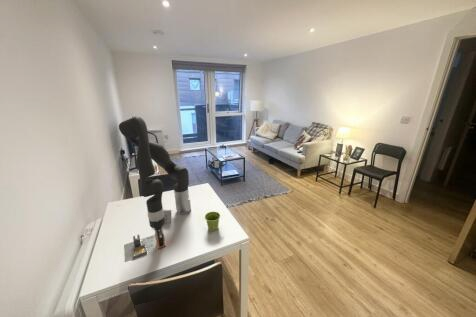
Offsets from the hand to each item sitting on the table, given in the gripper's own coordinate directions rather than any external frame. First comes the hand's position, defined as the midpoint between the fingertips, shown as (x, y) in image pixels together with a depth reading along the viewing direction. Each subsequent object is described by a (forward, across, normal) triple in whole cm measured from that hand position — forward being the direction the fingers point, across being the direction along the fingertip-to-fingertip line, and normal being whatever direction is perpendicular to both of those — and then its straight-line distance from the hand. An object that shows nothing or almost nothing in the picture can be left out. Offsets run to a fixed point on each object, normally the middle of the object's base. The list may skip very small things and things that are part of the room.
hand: (160, 242), depth 107 cm
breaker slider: (+1, -6, -11) cm, 13 cm away
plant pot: (+3, 0, +30) cm, 31 cm away
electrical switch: (+3, -20, +6) cm, 21 cm away
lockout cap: (+1, 0, 0) cm, 1 cm away
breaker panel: (+3, -3, -8) cm, 8 cm away
